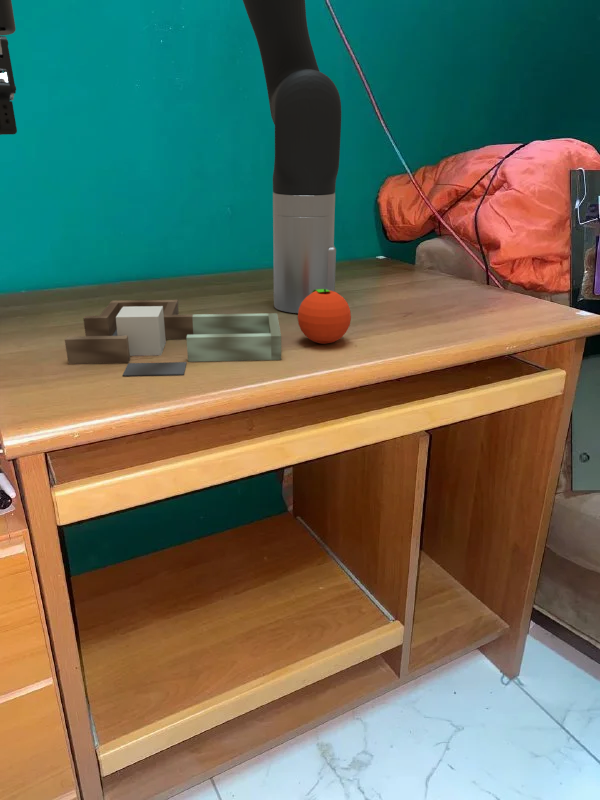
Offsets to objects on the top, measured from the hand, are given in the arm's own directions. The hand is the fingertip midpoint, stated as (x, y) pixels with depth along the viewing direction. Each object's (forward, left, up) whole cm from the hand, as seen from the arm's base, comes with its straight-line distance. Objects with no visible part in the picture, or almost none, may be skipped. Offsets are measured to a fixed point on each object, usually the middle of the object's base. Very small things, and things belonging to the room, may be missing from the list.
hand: (0, 134), depth 81 cm
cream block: (-18, +13, -25) cm, 33 cm away
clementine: (-41, +11, -25) cm, 49 cm away
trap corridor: (-22, +11, -25) cm, 35 cm away
